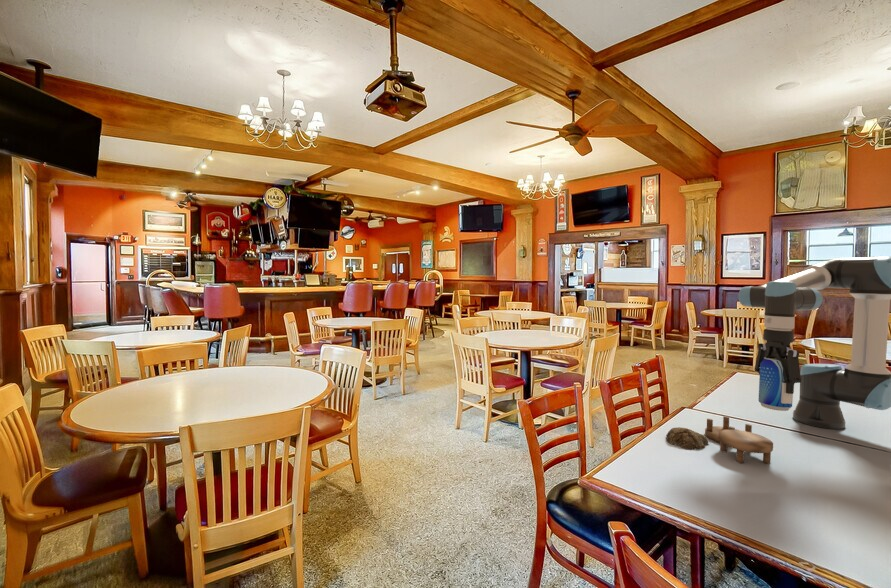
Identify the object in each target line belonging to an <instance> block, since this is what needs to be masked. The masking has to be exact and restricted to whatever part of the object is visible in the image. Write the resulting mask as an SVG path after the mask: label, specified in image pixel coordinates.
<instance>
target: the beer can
mask: <svg viewBox="0 0 891 588" xmlns="http://www.w3.org/2000/svg"><path fill="white" fill-rule="evenodd" d="M784 359H786V358H784ZM759 368H760V374H759V382H758V383H759V384H758V402H759V403H760V405H761V407H763V408H766V409H768V410H772V411H778V412H779V411H780V412H788V411H789V410H790V409H791V408H792V407H793V403H792V404H784V403H781V395H782V381H784V378H783V367H782V365H781V362H780V361H779V360H777V359H776V358H766V357H764V360H763V361H762V362H761V363H760V367H759ZM793 395H794V393H793V394H792V400H794V399H793V397H794V396H793Z"/></svg>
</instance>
